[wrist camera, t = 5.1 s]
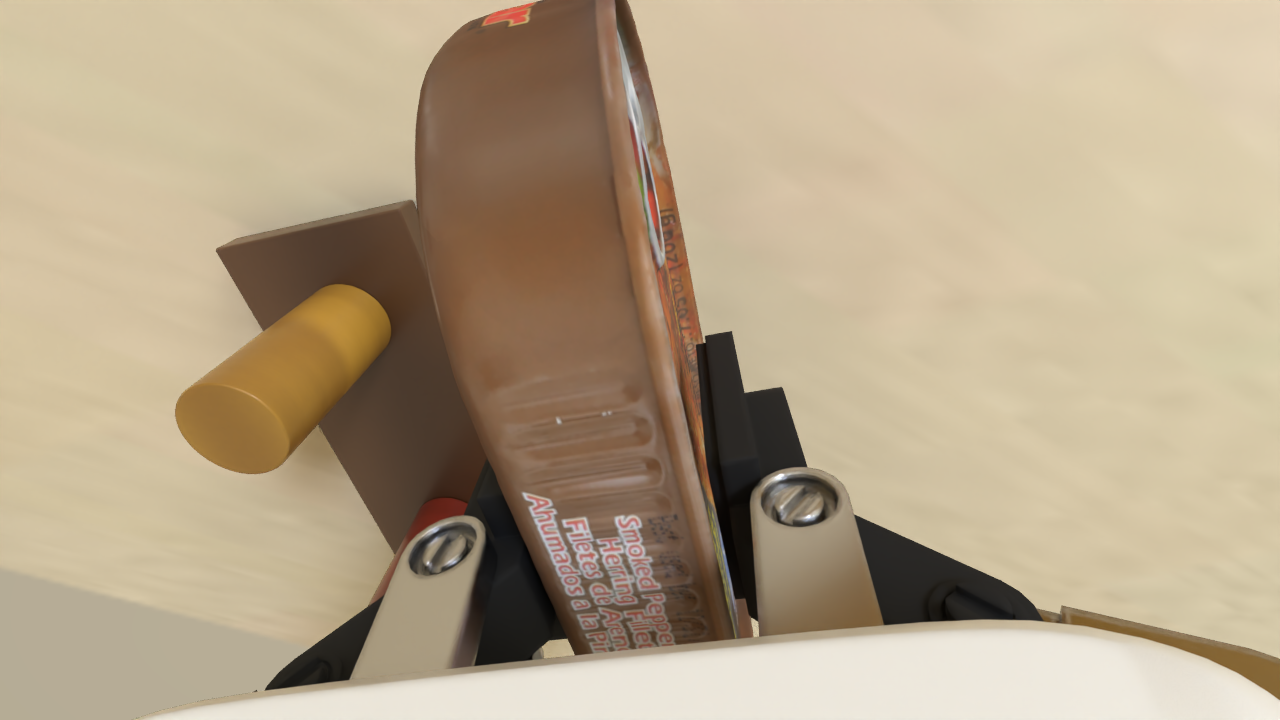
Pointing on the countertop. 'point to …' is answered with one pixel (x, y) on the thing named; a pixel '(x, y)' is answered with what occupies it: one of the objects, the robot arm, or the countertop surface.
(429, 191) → the tin
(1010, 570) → the countertop surface
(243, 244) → the rod stand
